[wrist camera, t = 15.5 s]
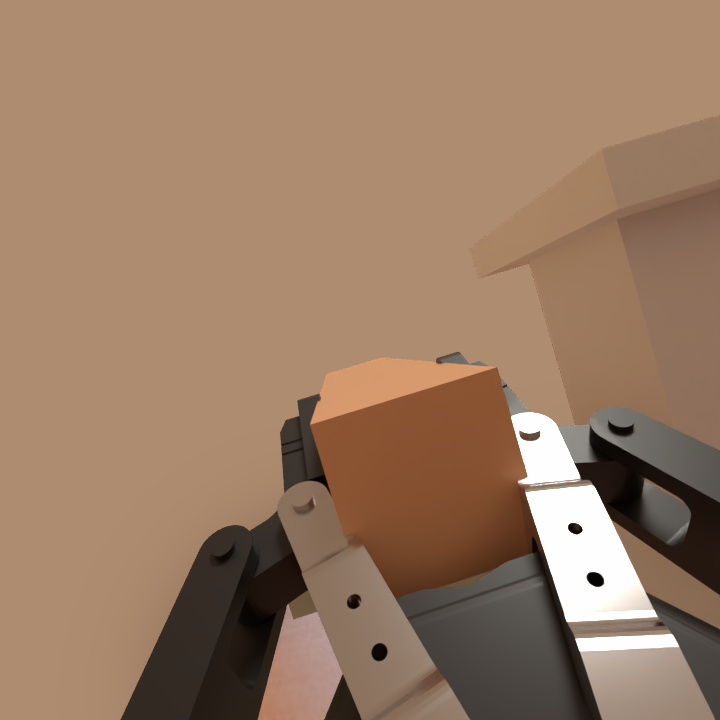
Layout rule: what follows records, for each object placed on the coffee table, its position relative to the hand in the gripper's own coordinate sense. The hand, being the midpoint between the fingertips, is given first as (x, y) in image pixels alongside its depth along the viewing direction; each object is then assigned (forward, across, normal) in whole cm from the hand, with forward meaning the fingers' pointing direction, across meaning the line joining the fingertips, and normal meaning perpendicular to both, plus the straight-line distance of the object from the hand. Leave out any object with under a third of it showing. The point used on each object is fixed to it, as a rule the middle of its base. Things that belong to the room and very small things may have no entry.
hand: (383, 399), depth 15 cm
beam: (+3, 0, +6) cm, 7 cm away
